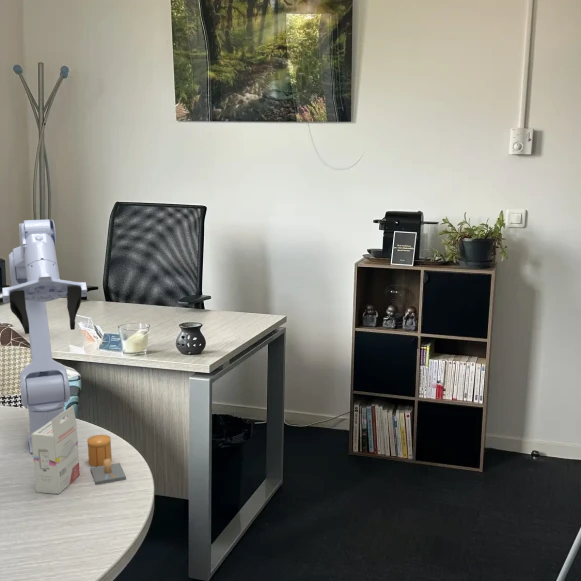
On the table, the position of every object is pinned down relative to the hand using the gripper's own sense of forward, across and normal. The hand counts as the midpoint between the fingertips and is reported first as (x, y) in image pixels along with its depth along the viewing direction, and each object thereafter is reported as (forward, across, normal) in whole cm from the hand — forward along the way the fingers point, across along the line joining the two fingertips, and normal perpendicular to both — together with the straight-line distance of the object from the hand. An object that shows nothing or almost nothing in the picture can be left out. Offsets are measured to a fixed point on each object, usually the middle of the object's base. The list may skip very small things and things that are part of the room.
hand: (50, 328), depth 129 cm
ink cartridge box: (+16, 0, +29) cm, 33 cm away
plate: (+16, +10, +29) cm, 34 cm away
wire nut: (+10, +9, +34) cm, 36 cm away
